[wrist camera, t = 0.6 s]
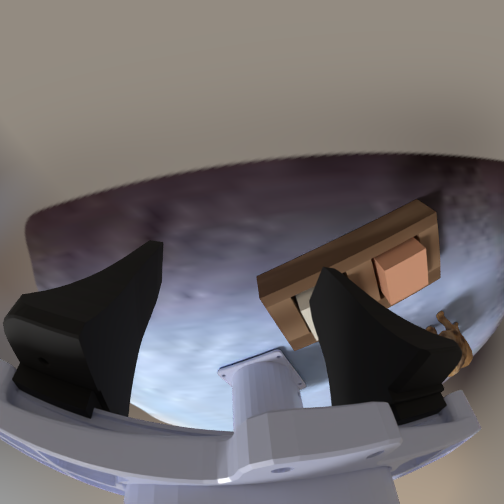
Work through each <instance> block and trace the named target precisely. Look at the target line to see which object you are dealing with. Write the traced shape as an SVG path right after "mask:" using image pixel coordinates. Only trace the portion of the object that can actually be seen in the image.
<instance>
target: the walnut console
mask: <svg viewBox="0 0 504 504" xmlns="http://www.w3.org/2000/svg"><path fill="white" fill-rule="evenodd" d="M412 237H414V238H415V239H416V240H417V241H418V242H419V243H421V244H422V245H423V246H424V247H425V248H426V255H427V268H428V285H430V284H431V283H433V282H435V281H436V280H438V279H439V278H440V249H439V235H438V224H437V215H436V212H435V211H434V210H432V209H431V208H429V207H428V206H426V205H425V204H423V203H422V202H420V201H419V200H417V199H416V200H414V201H412V202H410V203H408V204H406V205H404V206H402V207H400V208H398V209H396V210H394V211H392V212H390V213H388V214H386V215H384V216H382V217H380V218H378V219H376V220H374V221H372V222H370V223H368V224H366V225H364V226H362V227H360V228H358V229H356V230H354V231H352V232H350V233H348V234H346V235H344V236H342V237H340V238H338V239H336V240H333V241H331V242H329V243H327V244H325V245H323V246H321V247H319V248H317V249H315V250H313V251H310V252H308V253H306V254H304V255H302V256H300V257H298V258H296V259H293V260H291V261H289V262H287V263H285V264H283V265H281V266H278V267H276V268H274V269H272V270H270V271H268V272H265V273H263V274H261V275H259V276H257V284H258V291H259V298H260V300H261V302H262V303H263V305H264V306H265V308H266V309H267V311H268V312H269V314H270V315H271V317H272V318H273V320H274V321H275V323H276V324H277V326H278V327H279V329H280V330H281V332H282V333H283V335H284V336H285V338H286V339H287V341H288V342H289V344H290V345H291V347H292V348H293V350H294V351H296V350H298V349H301V348H303V347H306V346H308V345H311V344H313V343H315V342H318V341H319V340H318V341H316V339H315V337H314V335H313V333H312V332H311V330H310V328H309V326H308V324H307V322H306V320H305V319H304V317H303V315H302V313H301V311H300V308H299V305H298V301H297V299H296V297H295V295H297V294H299V293H301V292H303V291H306V290H308V289H310V288H312V287H314V286H315V285H316V282H317V280H318V277H319V275H320V272H321V270H322V267H329V268H335V269H336V270H338V271H340V272H341V273H342V274H344V275H345V276H346V277H347V278H349V279H350V280H351V281H352V282H354V283H355V284H356V285H357V286H358V287H360V288H361V289H362V290H363V291H365V292H366V293H367V294H368V295H370V296H371V297H372V298H373V299H375V300H376V301H377V302H379V303H380V304H381V305H383V306H384V307H386V308H389V307H391V306H393V305H395V304H397V303H398V302H400V301H402V300H404V299H406V298H407V297H409V296H411V295H413V294H414V293H416V292H418V291H420V290H421V289H423V288H425V287H426V286H428V285H426V286H424V287H423V288H421V289H419V290H418V291H416V292H414V293H412V294H411V295H409V296H407V297H405V298H404V299H402V300H400V301H398V302H396V303H394V304H393V305H390V303H389V302H388V300H387V299H386V297H385V296H384V294H383V293H382V291H381V290H380V288H379V287H378V285H377V281H376V277H375V273H374V269H373V265H372V261H371V259H372V258H374V257H376V256H378V255H380V254H382V253H384V252H386V251H388V250H389V249H391V248H393V247H395V246H397V245H399V244H401V243H403V242H404V241H406V240H408V239H410V238H412Z"/></svg>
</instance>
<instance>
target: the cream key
mask: <svg viewBox="0 0 504 504" xmlns="http://www.w3.org/2000/svg"><path fill="white" fill-rule="evenodd" d="M314 287H315V286H314ZM314 287H312V288H310V289H308V290H306V291H303V292H301V293H299V294H297V295H296V298H297V301H298V305H299V308H300V311H301V313H302V315H303V317H304V319H305V320H306V322H307V324H308V326H309V328H310V330H311V332H312V333H313V335H314V337H315V339H316V341H318V337H317V333H316V330H315V327H314V324H313V321H312V317H311V311H310V304H309V300H310V297H311V295H312V292H313V290H314Z"/></svg>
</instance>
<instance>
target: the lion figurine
mask: <svg viewBox="0 0 504 504" xmlns="http://www.w3.org/2000/svg"><path fill="white" fill-rule="evenodd" d="M436 317H437V319H438V321H439V322H441V323H442V324H443V325H444V326H445V328H446V330H445V331H442V332H441V333H440V334H439V335H440V336H443V337H446V338H449V339H452V340H454V341H455V342H456V343H457V344H458V345H459V347H460V348H461V350H462V357H461V360H460V362H459V363H458V365H457V366H456V368H455V369H454V370H453V371H452V372H451V374H450V375H449V376H448V377H450V376H453V375H454V374H456V373H458V372H459V370H460V369H461V368H462V367H465V366H467V365H469V364H470V362H471V360H472V358H473V355H472V350H471V348H470V346H469V344H468V342H467V341H466V340H465V338H464V337H463V336H462V334H461V333H460V331H459V329H458V323H457V322H455V323H454V324H453V325H452V324H451V323H450V321H448V320H447V319H446V318H445V316H444V312H443V311H440V312H439V313H438V314H437V315H436ZM426 330H427V331H429V332H432V333H434V334H437V331H436V329H435V328H434V327H432V326H428V327H427V328H426ZM437 335H438V334H437Z"/></svg>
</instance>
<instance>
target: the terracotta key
mask: <svg viewBox="0 0 504 504" xmlns="http://www.w3.org/2000/svg"><path fill="white" fill-rule="evenodd" d="M371 261H372V265H373V269H374V273H375V277H376V281H377V285H378V287H379V288H380V290H381V291H382V293H383V294H384V296H385V297H386V299H387V300H388V302H389V303H390V305H393V304H394V303H396V302H398V301H400V300H402V299H404V298H405V297H407V296H409V295H411V294H412V293H414V292H416V291H418V290H419V289H421V288H423V287H424V286H426V285H428V268H427V255H426V248H425V247H424V246H423V245H422V244H421V243H419V242H418V241H417V240H416V239H415V238H414V237H412V238H410V239H408V240H406V241H404V242H403V243H401V244H399V245H397V246H395V247H393V248H391V249H389V250H388V251H386V252H384V253H382V254H380V255H378V256H376V257H374V258H372V259H371Z"/></svg>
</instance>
